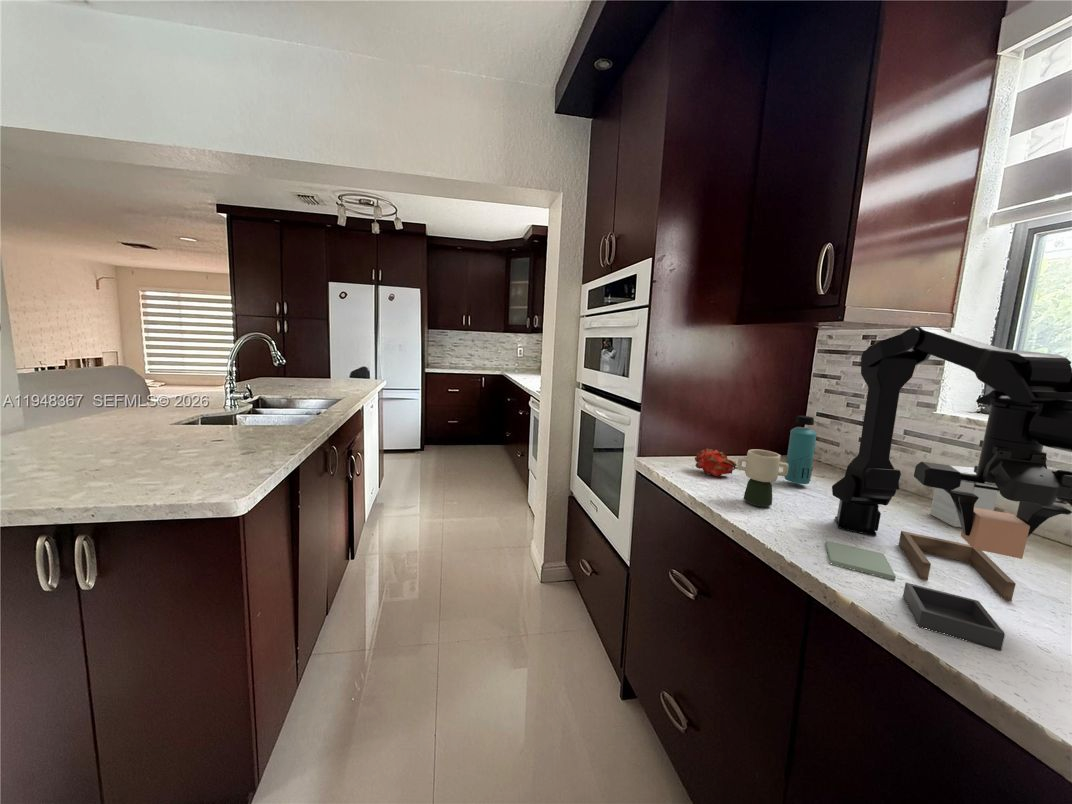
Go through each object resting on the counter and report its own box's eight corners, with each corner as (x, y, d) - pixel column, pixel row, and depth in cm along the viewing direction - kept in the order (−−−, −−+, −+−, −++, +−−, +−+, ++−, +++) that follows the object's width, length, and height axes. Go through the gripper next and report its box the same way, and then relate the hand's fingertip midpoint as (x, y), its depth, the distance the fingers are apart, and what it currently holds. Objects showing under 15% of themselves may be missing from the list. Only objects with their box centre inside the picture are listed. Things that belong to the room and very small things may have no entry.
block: (973, 548, 61) (980, 517, 60) (960, 535, 65) (967, 506, 65) (1022, 559, 59) (1030, 526, 58) (1005, 544, 63) (1012, 514, 62)
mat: (830, 564, 74) (831, 560, 74) (825, 543, 81) (825, 540, 81) (894, 580, 69) (895, 576, 69) (882, 557, 77) (883, 553, 77)
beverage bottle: (799, 490, 112) (810, 419, 109) (777, 482, 118) (786, 414, 115) (815, 488, 115) (826, 418, 112) (792, 480, 121) (802, 413, 118)
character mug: (779, 502, 102) (786, 452, 100) (785, 513, 96) (793, 460, 94) (731, 495, 106) (737, 446, 104) (734, 505, 100) (740, 453, 98)
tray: (918, 626, 58) (921, 610, 57) (902, 596, 65) (905, 582, 64) (1000, 650, 54) (1005, 633, 53) (974, 616, 61) (978, 600, 60)
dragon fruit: (690, 474, 127) (731, 489, 121) (689, 464, 120) (732, 479, 114) (699, 450, 129) (739, 463, 123) (698, 439, 122) (741, 452, 116)
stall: (919, 578, 70) (923, 562, 70) (898, 544, 83) (901, 530, 82) (1011, 600, 65) (1015, 583, 65) (974, 561, 77) (977, 546, 77)
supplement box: (991, 531, 91) (1003, 476, 89) (952, 526, 93) (963, 473, 91) (964, 517, 98) (974, 467, 96) (928, 513, 100) (938, 463, 98)
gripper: (946, 439, 57) (925, 543, 60) (1160, 464, 48) (1126, 586, 51) (921, 427, 67) (904, 517, 69) (1096, 446, 58) (1070, 549, 60)
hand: (990, 539), depth 62 cm, fingers closed on block, 5 cm apart
